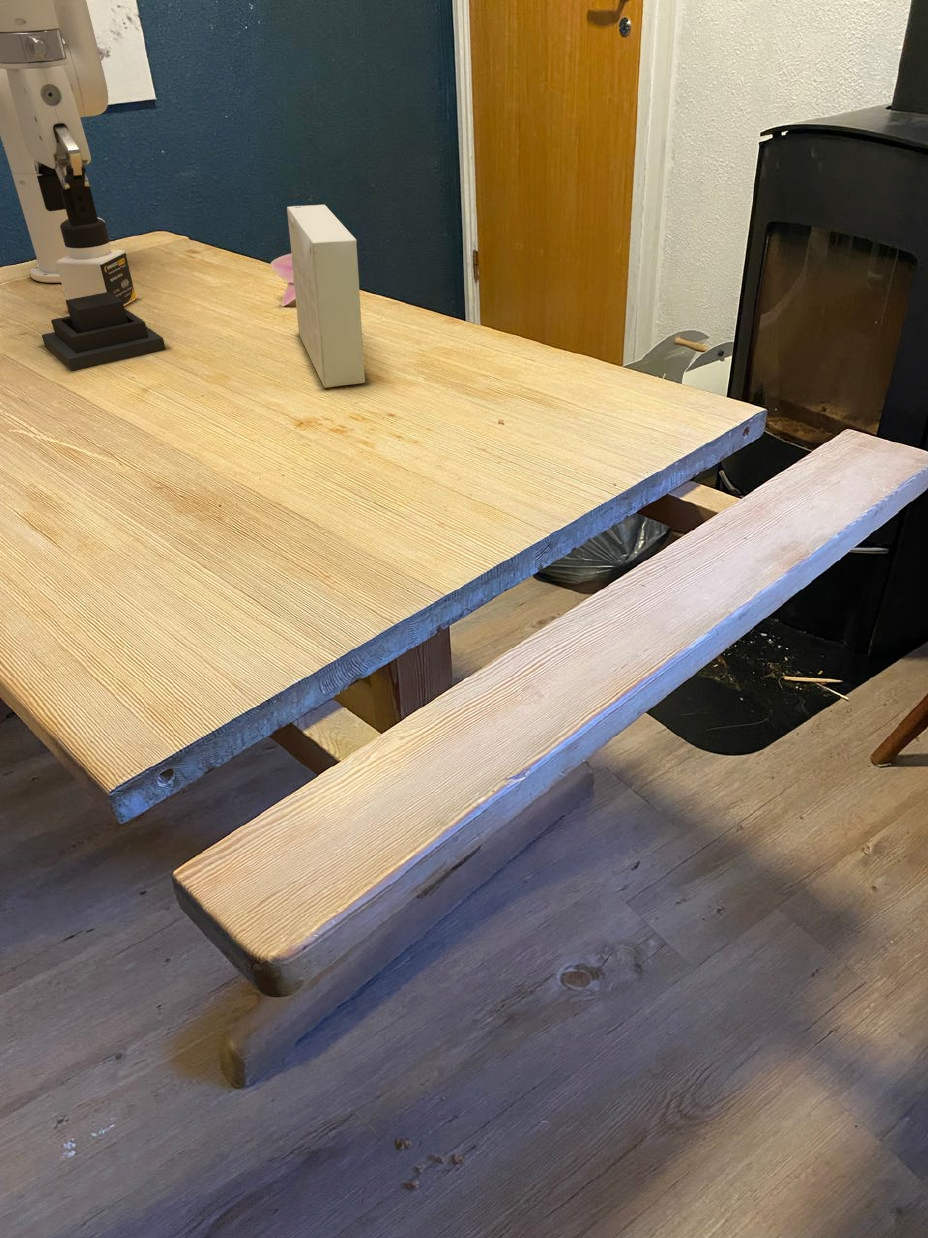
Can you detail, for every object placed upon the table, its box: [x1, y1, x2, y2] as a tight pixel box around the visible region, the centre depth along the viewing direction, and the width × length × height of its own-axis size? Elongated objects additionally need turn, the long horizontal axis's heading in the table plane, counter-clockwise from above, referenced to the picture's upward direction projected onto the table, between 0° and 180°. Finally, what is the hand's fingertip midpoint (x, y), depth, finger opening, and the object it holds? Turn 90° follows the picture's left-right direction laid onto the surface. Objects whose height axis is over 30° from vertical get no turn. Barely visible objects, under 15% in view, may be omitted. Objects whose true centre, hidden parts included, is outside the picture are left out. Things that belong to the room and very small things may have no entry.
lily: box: [269, 253, 296, 307], centre depth 129 cm, size 12×12×10 cm
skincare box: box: [286, 204, 366, 388], centre depth 107 cm, size 21×5×16 cm, turn 17°
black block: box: [65, 292, 128, 334], centre depth 115 cm, size 6×6×4 cm
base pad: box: [41, 308, 166, 372], centre depth 117 cm, size 12×12×4 cm
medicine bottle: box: [56, 216, 137, 307], centre depth 130 cm, size 7×7×12 cm
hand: (71, 216), depth 109 cm, fingers open, 9 cm apart
